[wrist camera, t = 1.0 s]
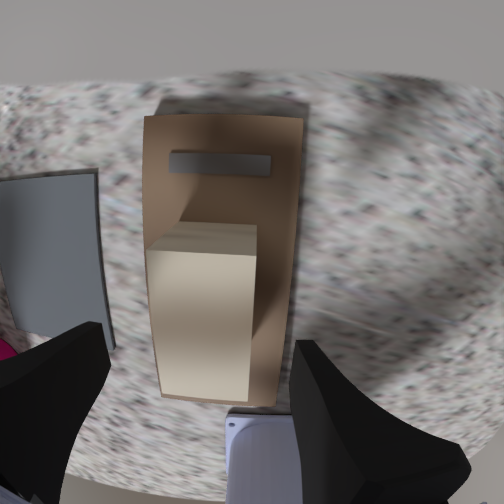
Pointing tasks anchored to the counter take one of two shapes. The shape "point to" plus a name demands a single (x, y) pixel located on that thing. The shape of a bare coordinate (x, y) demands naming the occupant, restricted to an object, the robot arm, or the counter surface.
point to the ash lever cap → (203, 308)
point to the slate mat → (53, 254)
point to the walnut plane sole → (231, 211)
